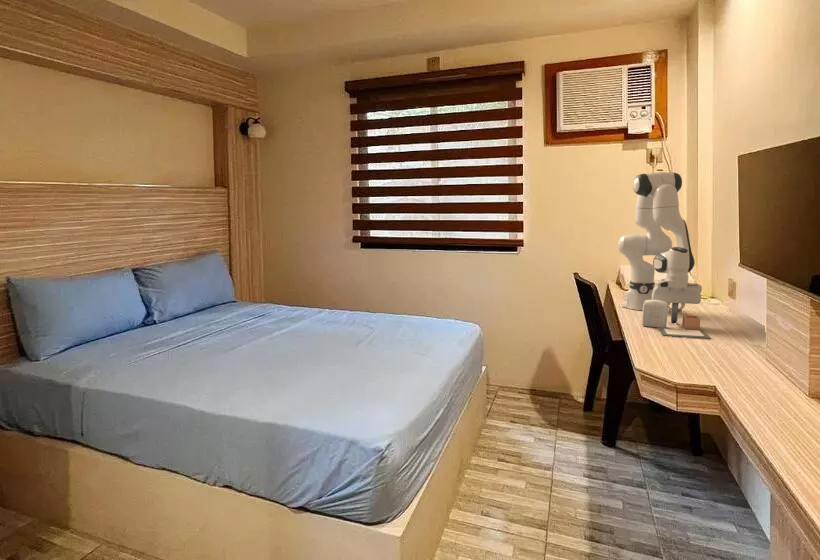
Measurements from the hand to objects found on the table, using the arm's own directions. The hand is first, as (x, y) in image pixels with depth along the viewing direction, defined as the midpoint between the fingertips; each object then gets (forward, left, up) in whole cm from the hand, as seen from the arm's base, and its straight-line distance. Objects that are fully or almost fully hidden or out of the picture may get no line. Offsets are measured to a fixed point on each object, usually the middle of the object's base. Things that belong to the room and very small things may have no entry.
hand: (674, 312), depth 236 cm
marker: (0, 0, -5) cm, 5 cm away
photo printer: (+8, -10, -6) cm, 14 cm away
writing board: (+19, 0, -5) cm, 20 cm away
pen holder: (+9, +5, -5) cm, 12 cm away
